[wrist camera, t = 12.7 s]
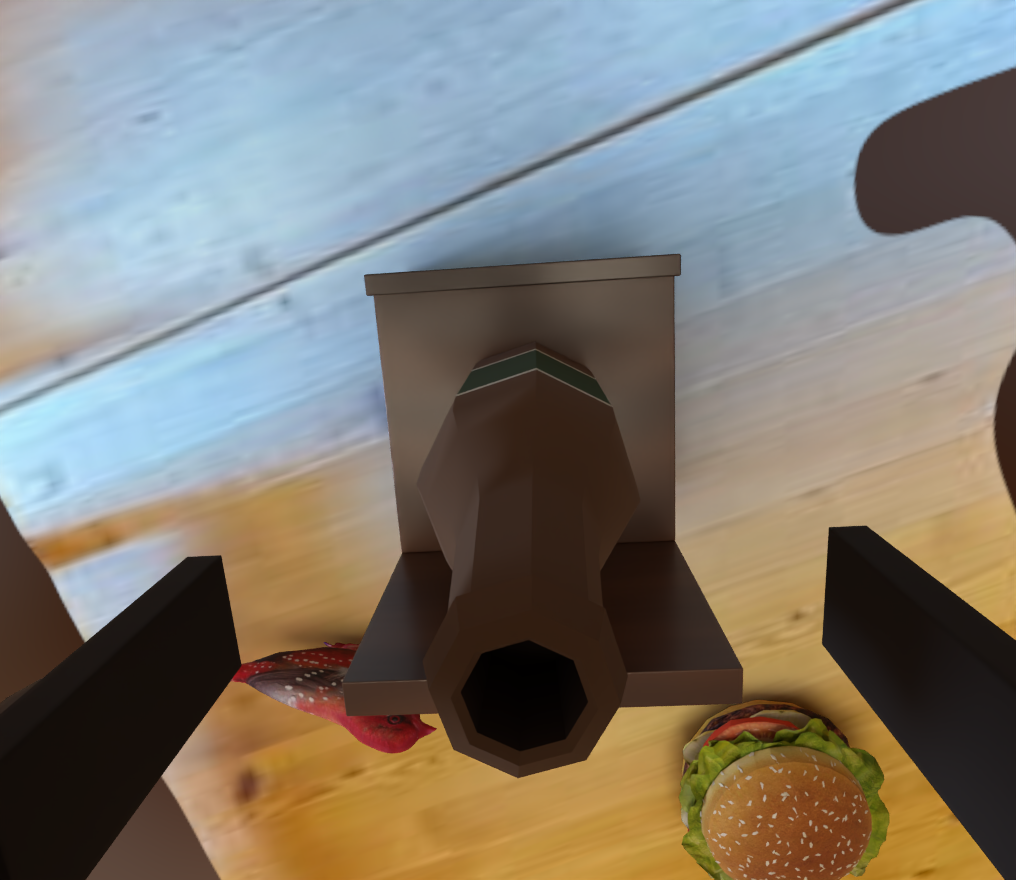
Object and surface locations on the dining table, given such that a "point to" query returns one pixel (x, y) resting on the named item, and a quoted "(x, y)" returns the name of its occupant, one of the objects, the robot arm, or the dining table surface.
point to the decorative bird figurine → (328, 694)
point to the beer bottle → (527, 561)
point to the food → (779, 796)
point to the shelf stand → (644, 429)
